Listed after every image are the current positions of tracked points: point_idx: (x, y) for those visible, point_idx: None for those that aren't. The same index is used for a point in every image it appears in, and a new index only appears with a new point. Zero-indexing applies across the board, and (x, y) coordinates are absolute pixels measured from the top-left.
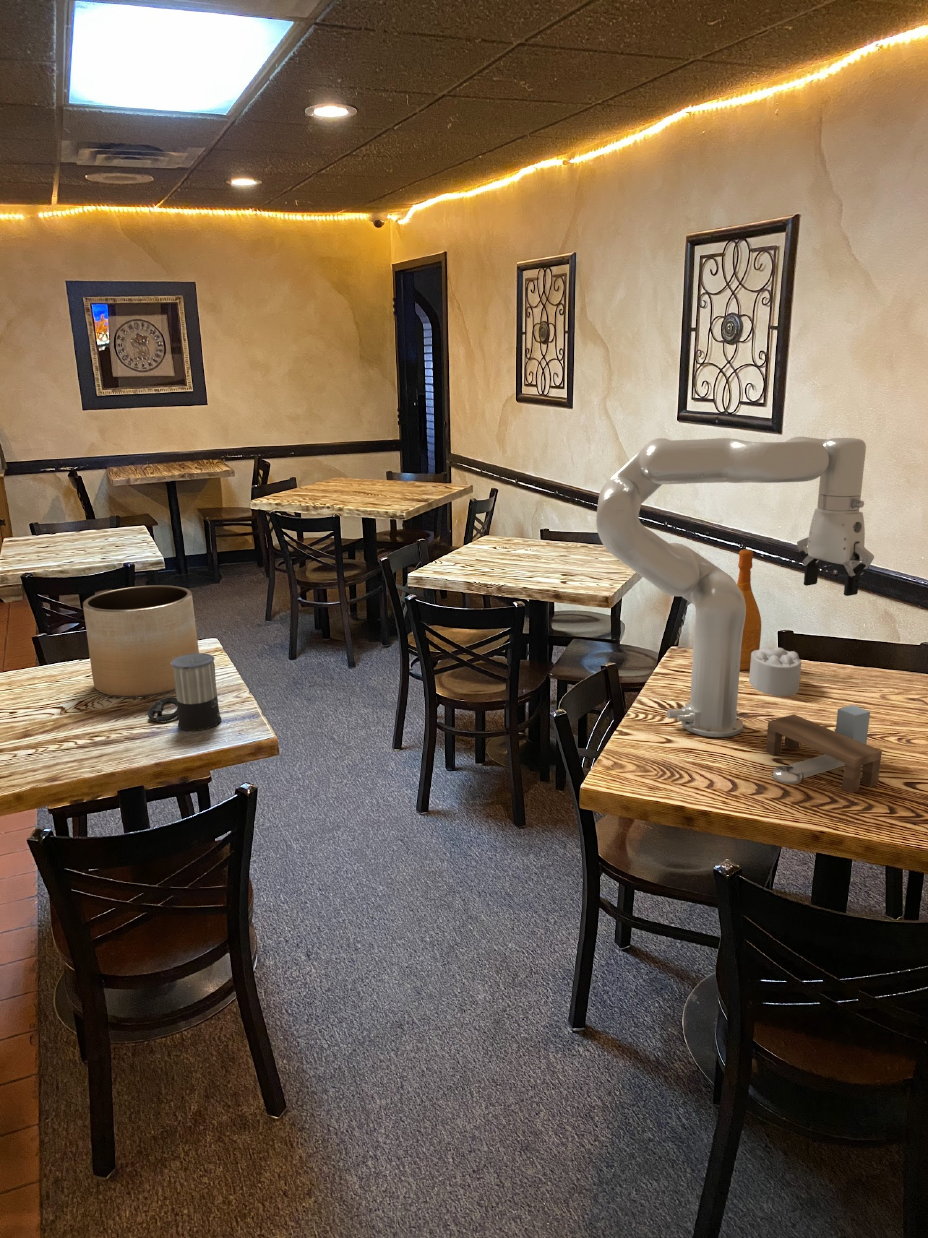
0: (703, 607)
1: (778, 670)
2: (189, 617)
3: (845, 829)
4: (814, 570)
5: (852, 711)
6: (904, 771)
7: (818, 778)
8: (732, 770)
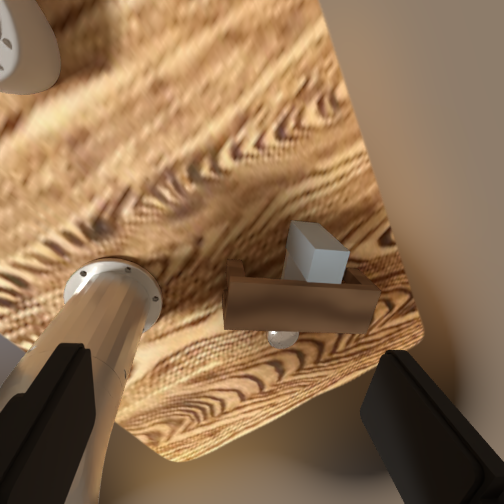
0: None
1: (10, 81)
2: None
3: (371, 361)
4: (41, 487)
5: (329, 273)
6: (368, 211)
7: None
8: (232, 361)
